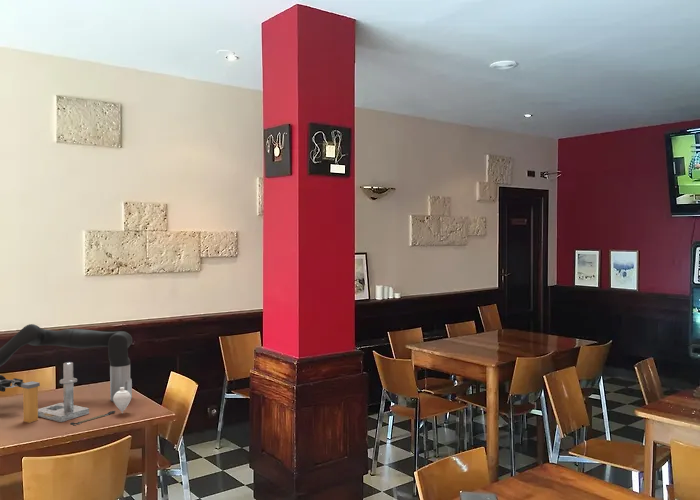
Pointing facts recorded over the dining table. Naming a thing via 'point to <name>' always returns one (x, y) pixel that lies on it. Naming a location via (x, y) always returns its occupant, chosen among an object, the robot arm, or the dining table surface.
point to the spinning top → (122, 399)
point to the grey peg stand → (67, 408)
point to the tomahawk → (91, 418)
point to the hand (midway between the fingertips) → (14, 387)
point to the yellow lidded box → (30, 401)
